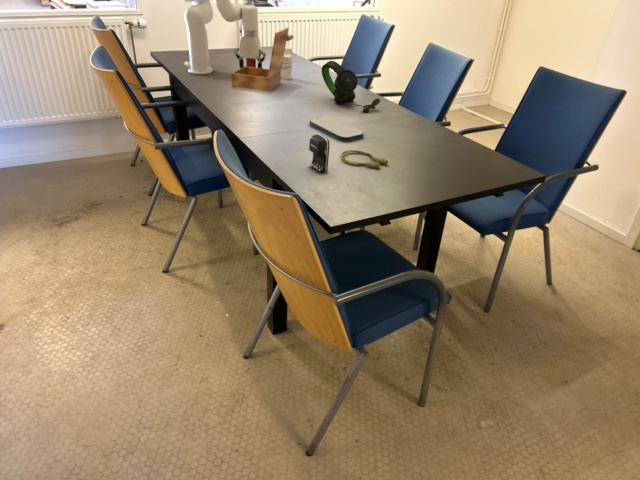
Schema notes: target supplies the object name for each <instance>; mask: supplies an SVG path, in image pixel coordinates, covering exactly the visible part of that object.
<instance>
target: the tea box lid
mask: <svg viewBox="0 0 640 480" xmlns="http://www.w3.org/2000/svg"><path fill="white" fill-rule="evenodd" d="M289 29H290V28H289V27H286V28H283V29H280V30H279V31H276V32H275V33H274V36H273V43H272V49H271V54H270V55H271V56H270V61H269V68H268V69H269V74H268V77H271V76H273V75H274V74H276V73H277V72H279V71H281V70H282V64H283V58H284V53H285V52H286V51H285V48H286V46H287V42H290V41H291V40H294V35H293V34H290V35H289Z"/></svg>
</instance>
